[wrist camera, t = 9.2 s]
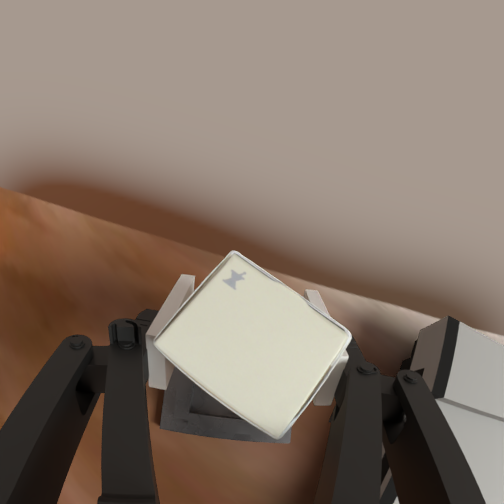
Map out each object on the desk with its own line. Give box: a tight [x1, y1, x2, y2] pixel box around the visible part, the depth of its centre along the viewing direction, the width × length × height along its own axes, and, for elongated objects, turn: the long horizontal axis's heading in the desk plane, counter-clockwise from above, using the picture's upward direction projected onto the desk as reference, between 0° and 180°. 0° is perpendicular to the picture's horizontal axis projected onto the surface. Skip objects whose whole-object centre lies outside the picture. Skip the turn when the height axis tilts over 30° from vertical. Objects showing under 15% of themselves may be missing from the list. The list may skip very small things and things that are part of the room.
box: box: [153, 251, 352, 440], centre depth 14 cm, size 5×4×11 cm
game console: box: [379, 316, 504, 504], centre depth 16 cm, size 21×32×8 cm, turn 154°
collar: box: [160, 367, 292, 443], centre depth 24 cm, size 11×11×3 cm
